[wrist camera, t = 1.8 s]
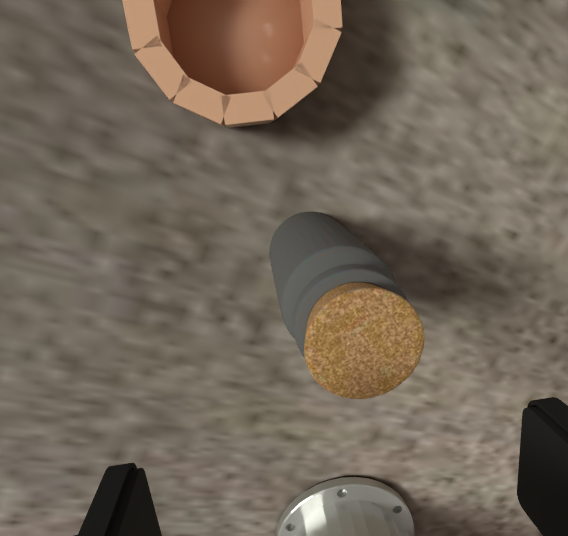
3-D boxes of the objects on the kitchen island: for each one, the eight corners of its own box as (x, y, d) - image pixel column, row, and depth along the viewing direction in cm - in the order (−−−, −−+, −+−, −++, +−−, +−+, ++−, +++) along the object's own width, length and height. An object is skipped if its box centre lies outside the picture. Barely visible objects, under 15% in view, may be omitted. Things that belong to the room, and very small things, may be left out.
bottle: (284, 299, 31) (316, 431, 17) (257, 226, 29) (268, 305, 15) (357, 273, 31) (453, 384, 17) (335, 199, 29) (421, 251, 15)
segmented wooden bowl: (353, -16, 25) (376, -52, 21) (282, 153, 28) (289, 155, 23) (182, -112, 23) (166, -175, 19) (122, 81, 26) (95, 67, 21)
